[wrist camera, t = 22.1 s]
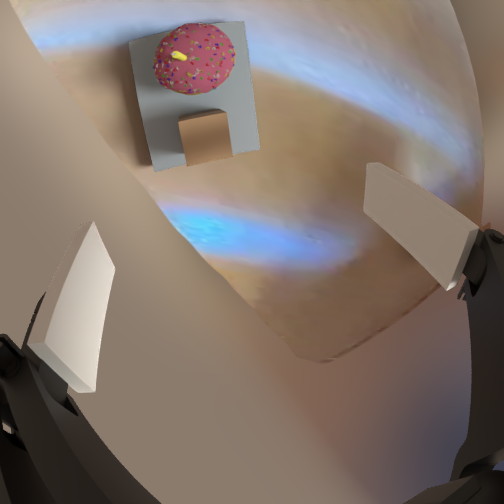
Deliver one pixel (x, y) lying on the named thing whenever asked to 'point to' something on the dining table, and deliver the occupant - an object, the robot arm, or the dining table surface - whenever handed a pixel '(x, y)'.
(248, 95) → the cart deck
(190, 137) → the walnut block
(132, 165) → the dining table surface
